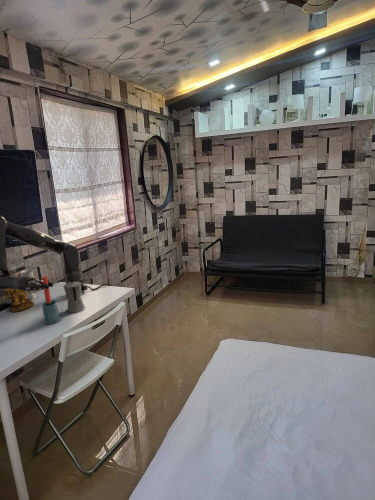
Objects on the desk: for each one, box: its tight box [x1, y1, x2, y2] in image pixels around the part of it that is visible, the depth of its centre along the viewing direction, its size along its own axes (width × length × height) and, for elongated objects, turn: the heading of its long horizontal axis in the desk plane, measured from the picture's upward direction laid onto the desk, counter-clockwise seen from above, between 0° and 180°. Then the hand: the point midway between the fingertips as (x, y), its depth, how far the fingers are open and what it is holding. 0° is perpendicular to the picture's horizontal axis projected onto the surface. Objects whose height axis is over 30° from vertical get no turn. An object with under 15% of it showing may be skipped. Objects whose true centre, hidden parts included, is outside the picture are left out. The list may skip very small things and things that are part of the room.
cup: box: [41, 300, 61, 325], centre depth 172 cm, size 7×7×10 cm
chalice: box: [20, 268, 37, 300], centre depth 206 cm, size 7×7×18 cm
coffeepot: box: [63, 279, 85, 314], centre depth 183 cm, size 15×9×18 cm, turn 25°
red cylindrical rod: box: [41, 275, 52, 303], centre depth 169 cm, size 2×2×14 cm
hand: (50, 285), depth 167 cm, fingers closed on red cylindrical rod, 2 cm apart
